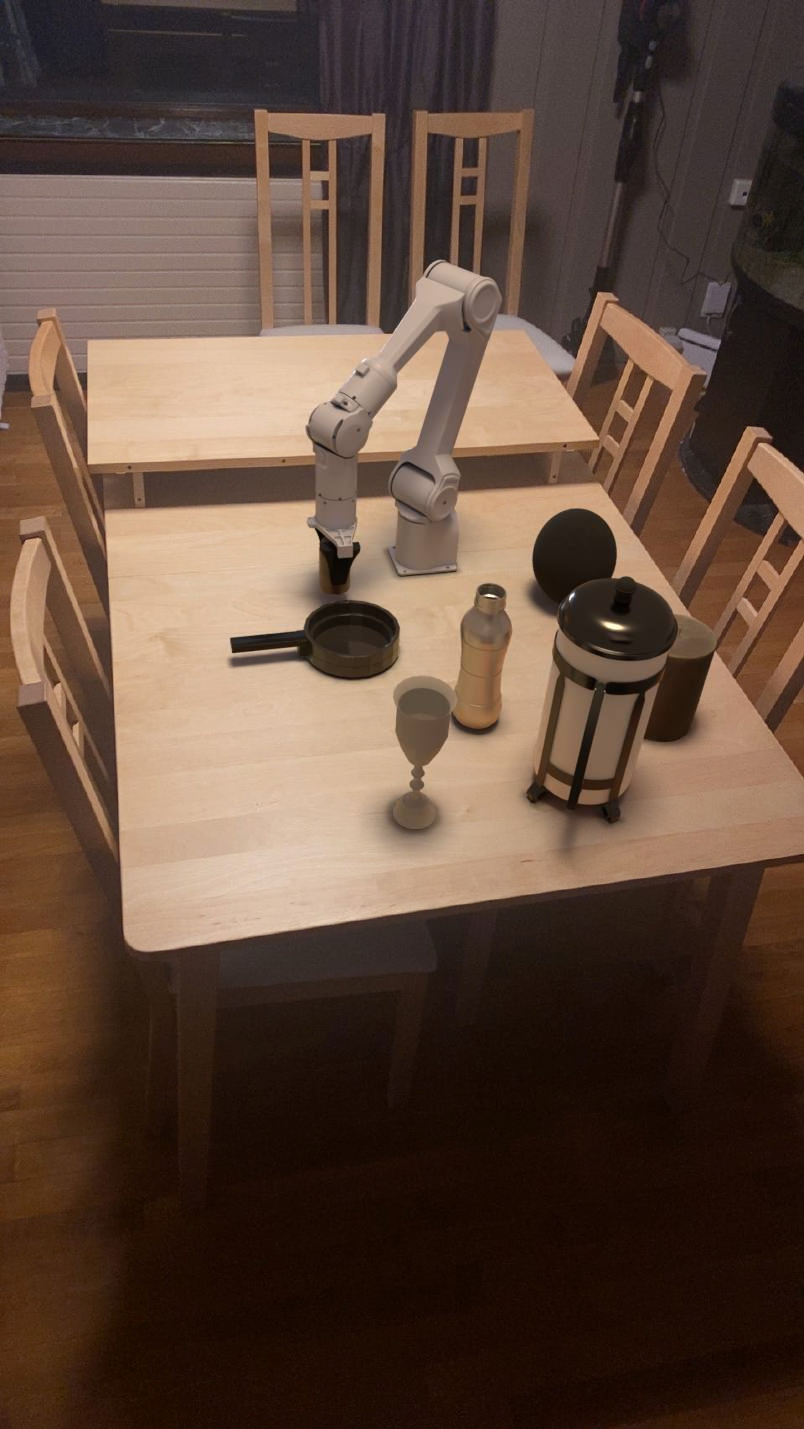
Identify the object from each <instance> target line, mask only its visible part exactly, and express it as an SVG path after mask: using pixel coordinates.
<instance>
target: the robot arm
mask: <svg viewBox="0 0 804 1429" xmlns="http://www.w3.org/2000/svg"><path fill="white" fill-rule="evenodd" d="M414 287H415V288H414V301H413V303H412V304H411V305H410V307H409V308H408V310H407V311H406V313H405V315H404V316H403V318H402V319H401V321H400V322H399V324H398V325H397V327H396V328H395V329H394V331H393V332H392V334H391V335H390V337H389V338H388V340H387V341H386V343H385V344H384V345H383V347H382V349H381V350H380V352H378V355H376V356H373V357H372V356H371V357H365V358H363V359H362V360H361V362H359V363H358V365H357V366H356V367H355V368H354V371H353V372H352V373H351V374H350V375H349V377H348V378H347V379H346V381H345V382H344V383H343V384H342V385H341V387H340V388H339V389H338V391H337V392H336V393H335V394H334V396H333V397H332V399H331V400H330V401H325V402H322V403H320V404H318V405H317V406H315V407H314V408H313V410H312V411H311V413H310V415H309V417H308V422H307V424H306V425H305V433H306V436H307V438H308V439H309V440H310V441H311V443H312V452H313V453H314V458H315V459H314V460H315V462H314V464H315V466H314V467H315V470H314V473H315V474H314V475H315V476H314V479H315V480H314V481H315V482H314V483H315V484H314V485H315V486H314V489H315V501H314V502H315V506H314V507H315V511H314V512H315V513H314V516H308V517H307V518H306V525H307V527H308V528H309V529H314V531H315V532H316V535H317V537H318V541H319V542H318V544H319V545H318V546H320V548H321V551H322V553H323V555H324V557H325V558H326V561H327V566H328V572H329V578H330V581H331V584H332V585H333V586H334V585H345V584H346V582H347V579H348V575H349V572H350V573H351V571H350V569H351V568H352V565H353V564H354V561H355V559H356V558H357V556H358V555H359V554H360V552H361V544H360V542H359V541H354V538H355V535H356V530H357V527H358V516H357V498H358V496H357V495H358V464H359V462H358V461H359V452H360V451H361V450H363V449H364V447H365V446H366V444H367V441H368V439H369V435H370V430H371V429H372V427H373V424H374V421H373V419H374V418H375V417H376V416H377V415H378V414H379V412H380V410H381V409H382V408H383V407H384V405H385V404H386V403H387V402H388V401H389V399H390V398H391V396H392V395H393V394H394V393H395V392H396V390H397V389H398V374H399V372H400V371H401V370H402V369H403V368H404V367H405V366H406V365H407V364H408V362H410V360H411V359H412V358H413V357H414V356H415V355H416V354H417V353H418V352H419V351H420V349H422V347H423V346H424V345H425V344H426V343H427V342H428V341H429V340H430V339H431V338H432V336H433V335H435V333H439V332H445V334H446V335H447V338H448V341H447V344H446V347H445V350H444V355H443V358H442V361H441V363H440V368H439V371H438V374H437V378H436V380H435V383H434V386H433V390H432V393H431V397H430V400H429V404H428V407H427V410H426V414H425V416H424V420H423V423H422V426H421V430H420V432H419V436H418V438H417V442H416V445H415V446H413V447H411V448H408V449H406V450H404V451H402V452H400V456H399V459H398V461H397V464H396V465H395V467H394V468H393V469H392V471H391V473H390V476H389V479H388V483H387V491H388V493H389V495H390V497H391V498H393V499H394V507H395V508H396V509H397V516H396V518H397V519H396V537H395V545H392V546H388V547H387V552H388V554H389V556H390V558H391V560H392V562H393V566H394V567H395V569H396V572H397V575H399V576H402V577H403V576H411V575H425V574H435V573H445V572H454V571H457V570H458V566H457V557H458V547H459V539H460V523H459V522H460V521H459V517H458V513H457V510H456V509H455V507H456V505H457V502H458V498H459V497H458V496H459V484H460V480H461V477H462V476H461V472H460V470H459V468H458V466H457V465H456V462H455V461H454V458H453V456H452V454H453V451H454V448H455V445H456V443H457V439H458V436H459V433H460V430H461V427H462V423H463V421H464V418H465V415H466V411H467V408H468V405H469V402H470V399H471V396H472V394H473V390H474V386H475V384H476V381H477V377H478V375H479V372H480V368H481V365H482V362H483V359H484V357H485V352H486V350H487V347H488V344H489V341H490V339H491V337H492V333H493V330H494V327H495V324H496V321H497V319H498V318H497V317H498V314H499V311H500V308H501V306H502V302H503V298H502V295H501V292H500V289H499V286H498V284H497V282H496V281H495V280H494V279H493V278H492V277H489V276H483V275H480V274H479V273H475V272H473V271H471V270H468V269H465V268H462V267H459V266H457V265H454V264H452V263H450V262H448V261H447V260H444V259H438V260H435V261H433V262H432V263H431V264H429V265H428V266H427V268H426V270H425V271H424V272H423V275H422V277H420V278H419V280H417V282H416V283H415V286H414ZM324 536H326V537H327V538H328V539H329V540H330V542H321V540H322V538H323V537H324Z"/></svg>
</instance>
